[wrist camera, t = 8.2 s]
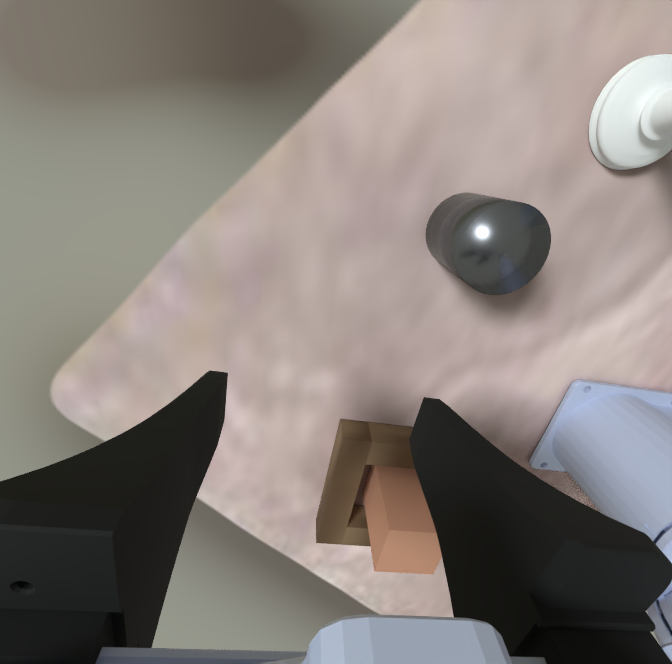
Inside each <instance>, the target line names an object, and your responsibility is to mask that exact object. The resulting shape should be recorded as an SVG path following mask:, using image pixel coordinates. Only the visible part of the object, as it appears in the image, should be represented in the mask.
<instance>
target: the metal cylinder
mask: <svg viewBox="0 0 672 664" xmlns="http://www.w3.org/2000/svg"><path fill="white" fill-rule="evenodd" d="M426 243H427V246H428V249H429V251H430V253H431V254H432V256H433V257H434V258H435V259H436V260H438V261H439V262H440V263H442V264H443V265H444V266H445V267H447V268H448V269H449V270H450V271H452V272H453V273H454V274H456V275H457V276H458V277H459V278H461V279H462V280H463V281H465V282H466V283H467V284H468V285H470V286H471V287H472V288H474V289H475V290H477V291H479V292H481V293H485V294H490V295H501V294H506V293H510V292H512V291H515V290H517V289H519V288H521V287H522V286H524V285H525V284H527V283H528V282H529V281H530V280H532V279H533V278H534V277H535V276H536V274H537V273H538V272H539V271H540V269H541V268H542V266H543V265H544V263H545V261H546V259H547V256H548V253H549V249H550V244H551V233H550V228H549V225H548V222H547V220H546V218H545V217H544V216H543V214H542V213H541V212H540V211H539V210H537V209H536V208H535V207H533V206H531V205H529V204H525V203H521V202H516V201H511V200H505V199H500V198H495V197H490V196H485V195H479V194H474V193H460V194H456V195H453V196H451V197H449V198H447V199H446V200H444V201H443V202H442V203H441V204H440V205H439V206H437V208H436V209H435V210H434V212H433V213H432V215H431V217H430V219H429V221H428V224H427V228H426Z"/></svg>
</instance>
